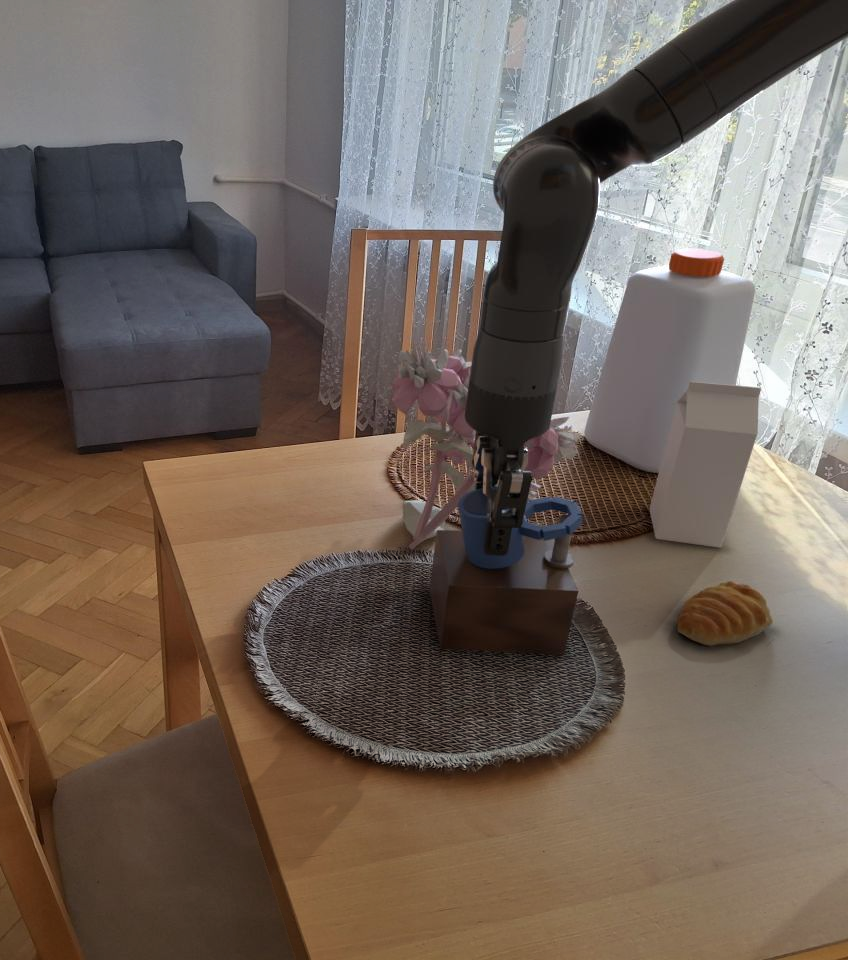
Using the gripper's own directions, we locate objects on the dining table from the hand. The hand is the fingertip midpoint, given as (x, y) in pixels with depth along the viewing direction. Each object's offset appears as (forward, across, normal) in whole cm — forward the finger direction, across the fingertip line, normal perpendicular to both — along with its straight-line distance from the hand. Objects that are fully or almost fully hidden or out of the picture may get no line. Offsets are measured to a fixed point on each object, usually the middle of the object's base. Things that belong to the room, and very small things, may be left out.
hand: (488, 533), depth 85 cm
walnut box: (+11, 0, -2) cm, 11 cm away
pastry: (+11, +1, -25) cm, 27 cm away
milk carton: (+11, +20, -28) cm, 36 cm away
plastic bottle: (+11, +42, -31) cm, 53 cm away
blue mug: (+1, 0, -4) cm, 4 cm away
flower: (+11, +21, -3) cm, 24 cm away
